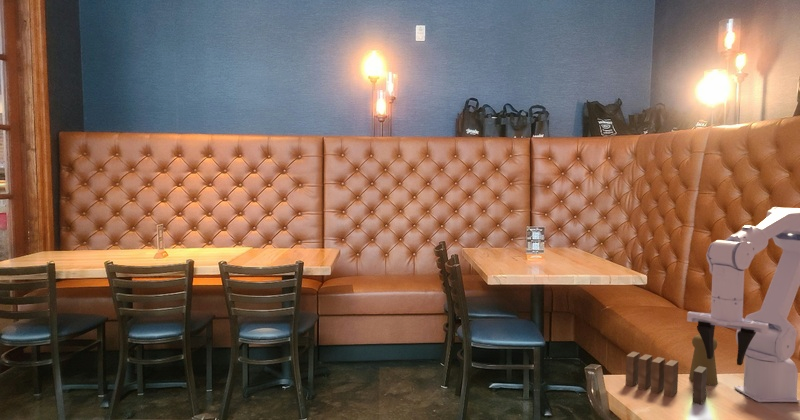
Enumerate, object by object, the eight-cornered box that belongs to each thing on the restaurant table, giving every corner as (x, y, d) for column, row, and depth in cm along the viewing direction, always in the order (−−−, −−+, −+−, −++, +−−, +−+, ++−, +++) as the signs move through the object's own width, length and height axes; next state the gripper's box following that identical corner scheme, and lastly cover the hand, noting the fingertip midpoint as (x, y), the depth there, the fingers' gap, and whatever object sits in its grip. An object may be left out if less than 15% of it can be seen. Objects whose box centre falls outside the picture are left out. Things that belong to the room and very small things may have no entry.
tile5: (639, 381, 124) (640, 352, 124) (632, 386, 121) (633, 357, 121) (632, 379, 125) (633, 351, 125) (625, 384, 122) (626, 355, 122)
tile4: (651, 384, 122) (652, 355, 122) (645, 390, 119) (646, 360, 119) (644, 383, 123) (645, 354, 123) (637, 388, 120) (638, 358, 120)
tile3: (664, 388, 120) (665, 358, 120) (658, 393, 117) (659, 363, 117) (656, 386, 121) (657, 356, 121) (650, 391, 118) (651, 361, 118)
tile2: (677, 391, 118) (678, 361, 118) (671, 397, 115) (672, 366, 115) (669, 389, 120) (670, 359, 119) (663, 394, 116) (664, 364, 116)
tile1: (706, 398, 114) (707, 367, 114) (700, 404, 111) (701, 372, 111) (697, 396, 115) (699, 366, 115) (692, 402, 112) (693, 370, 112)
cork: (722, 386, 122) (723, 340, 121) (693, 384, 123) (695, 338, 122) (712, 377, 128) (713, 333, 127) (685, 375, 129) (686, 331, 128)
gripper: (683, 294, 111) (681, 357, 112) (765, 306, 101) (762, 374, 102) (692, 290, 116) (690, 349, 117) (771, 300, 106) (768, 365, 107)
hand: (724, 360), depth 110 cm, fingers open, 5 cm apart
